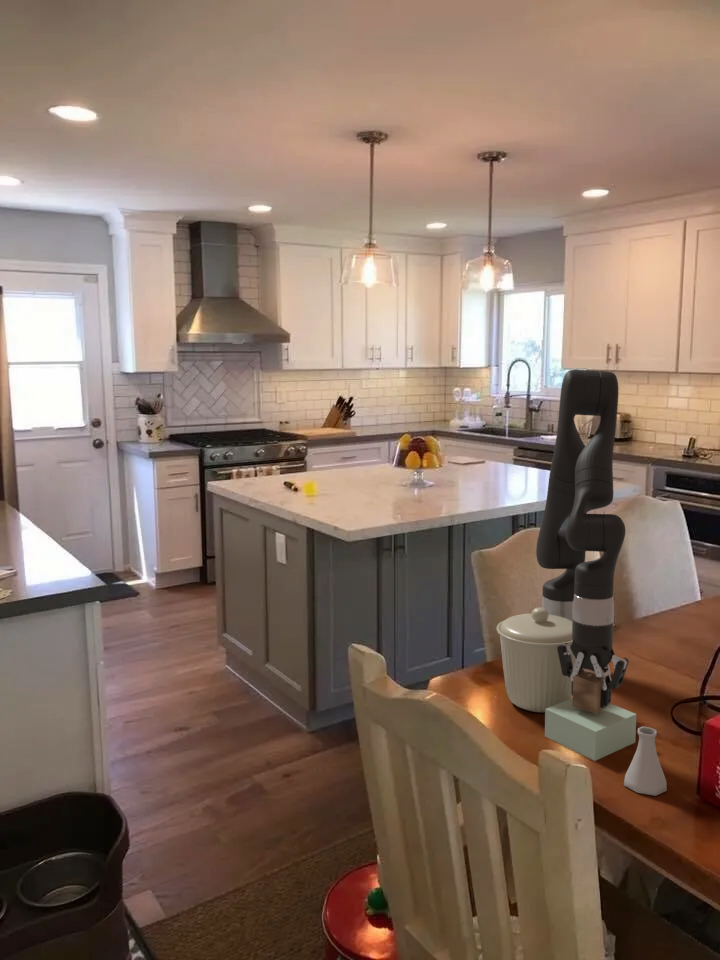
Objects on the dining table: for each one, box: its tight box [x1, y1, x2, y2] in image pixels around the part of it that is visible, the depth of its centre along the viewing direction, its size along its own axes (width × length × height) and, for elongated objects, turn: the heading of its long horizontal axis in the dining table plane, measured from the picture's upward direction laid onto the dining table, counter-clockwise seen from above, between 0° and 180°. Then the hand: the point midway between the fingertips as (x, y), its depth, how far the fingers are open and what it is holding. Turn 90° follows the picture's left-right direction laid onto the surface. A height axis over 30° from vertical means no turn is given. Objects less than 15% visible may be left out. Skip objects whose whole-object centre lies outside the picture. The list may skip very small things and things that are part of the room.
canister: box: [496, 607, 576, 713], centre depth 166 cm, size 18×18×21 cm
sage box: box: [544, 697, 637, 762], centre depth 151 cm, size 12×12×6 cm
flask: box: [623, 726, 668, 797], centre depth 134 cm, size 7×7×10 cm
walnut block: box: [572, 669, 606, 714], centre depth 150 cm, size 5×5×6 cm
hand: (590, 702), depth 150 cm, fingers closed on walnut block, 4 cm apart
